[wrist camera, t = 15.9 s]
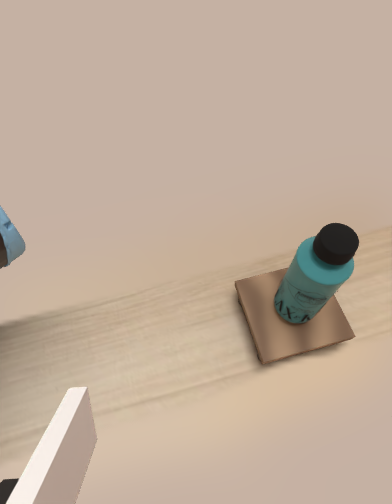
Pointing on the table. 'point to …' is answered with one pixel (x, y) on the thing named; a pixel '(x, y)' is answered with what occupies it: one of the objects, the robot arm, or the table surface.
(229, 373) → the table surface
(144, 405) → the table surface
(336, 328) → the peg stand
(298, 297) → the beverage bottle
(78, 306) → the table surface
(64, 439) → the robot arm
